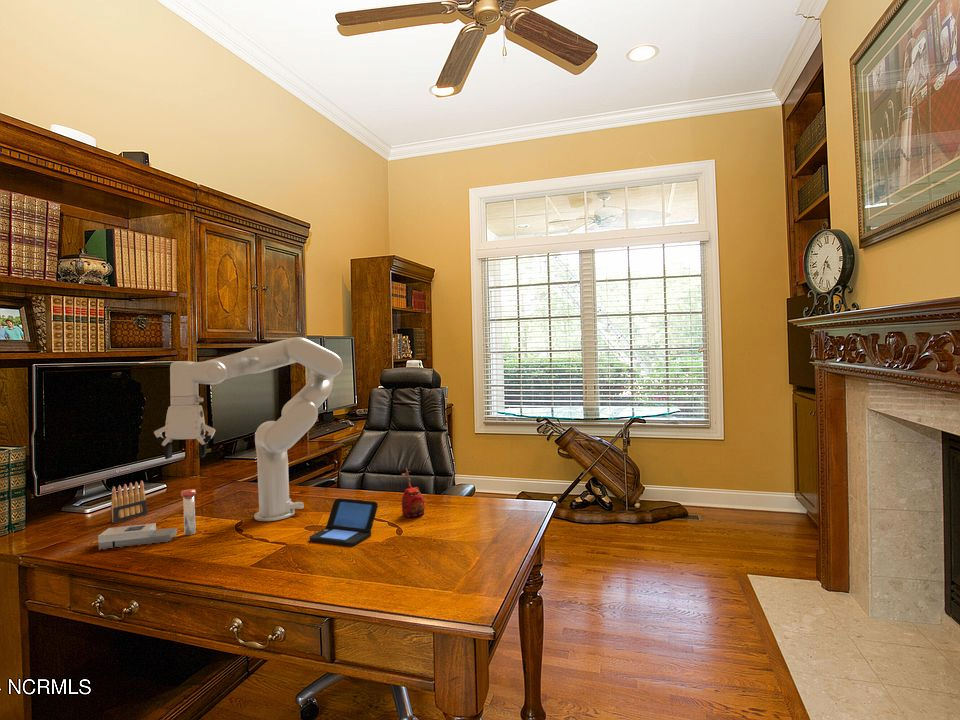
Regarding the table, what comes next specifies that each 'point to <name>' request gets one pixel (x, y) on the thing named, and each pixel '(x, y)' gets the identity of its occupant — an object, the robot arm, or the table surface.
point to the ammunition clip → (128, 503)
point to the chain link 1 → (124, 534)
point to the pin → (189, 511)
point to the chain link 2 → (150, 538)
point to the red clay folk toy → (412, 501)
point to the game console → (348, 523)
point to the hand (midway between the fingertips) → (185, 457)
